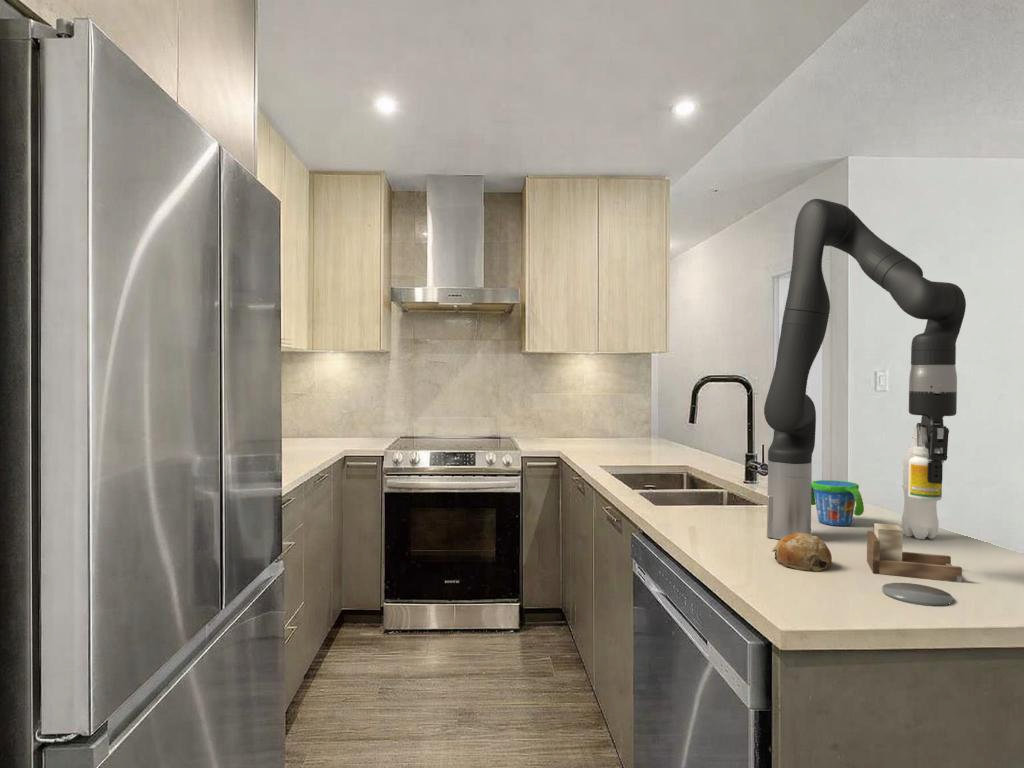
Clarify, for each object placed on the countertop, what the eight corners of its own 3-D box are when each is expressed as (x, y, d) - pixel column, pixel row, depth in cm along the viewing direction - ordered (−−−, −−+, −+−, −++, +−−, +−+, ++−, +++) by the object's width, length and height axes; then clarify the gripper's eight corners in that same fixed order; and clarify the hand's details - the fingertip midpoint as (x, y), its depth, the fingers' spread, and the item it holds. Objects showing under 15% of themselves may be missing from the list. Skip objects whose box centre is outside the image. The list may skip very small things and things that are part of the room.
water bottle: (943, 541, 148) (945, 429, 148) (908, 539, 150) (910, 428, 150) (930, 534, 156) (932, 427, 155) (896, 532, 157) (898, 426, 157)
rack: (873, 573, 124) (873, 530, 124) (866, 560, 132) (867, 520, 132) (961, 582, 119) (962, 537, 119) (949, 568, 127) (949, 527, 127)
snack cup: (796, 517, 173) (796, 478, 173) (831, 516, 175) (831, 477, 175) (837, 531, 158) (838, 488, 157) (876, 529, 160) (876, 487, 160)
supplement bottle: (903, 495, 127) (904, 445, 127) (934, 496, 126) (935, 446, 126) (914, 500, 122) (915, 448, 122) (946, 502, 121) (947, 449, 121)
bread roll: (796, 591, 125) (813, 557, 122) (758, 555, 133) (772, 523, 130) (832, 584, 129) (848, 551, 126) (792, 550, 137) (807, 518, 134)
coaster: (887, 601, 108) (887, 597, 108) (878, 583, 118) (878, 580, 118) (959, 609, 105) (959, 605, 105) (944, 590, 114) (944, 586, 114)
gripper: (902, 388, 132) (900, 474, 132) (917, 390, 118) (915, 485, 118) (946, 389, 129) (945, 476, 129) (967, 390, 115) (965, 488, 116)
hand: (931, 480), depth 124 cm, fingers closed on supplement bottle, 5 cm apart
